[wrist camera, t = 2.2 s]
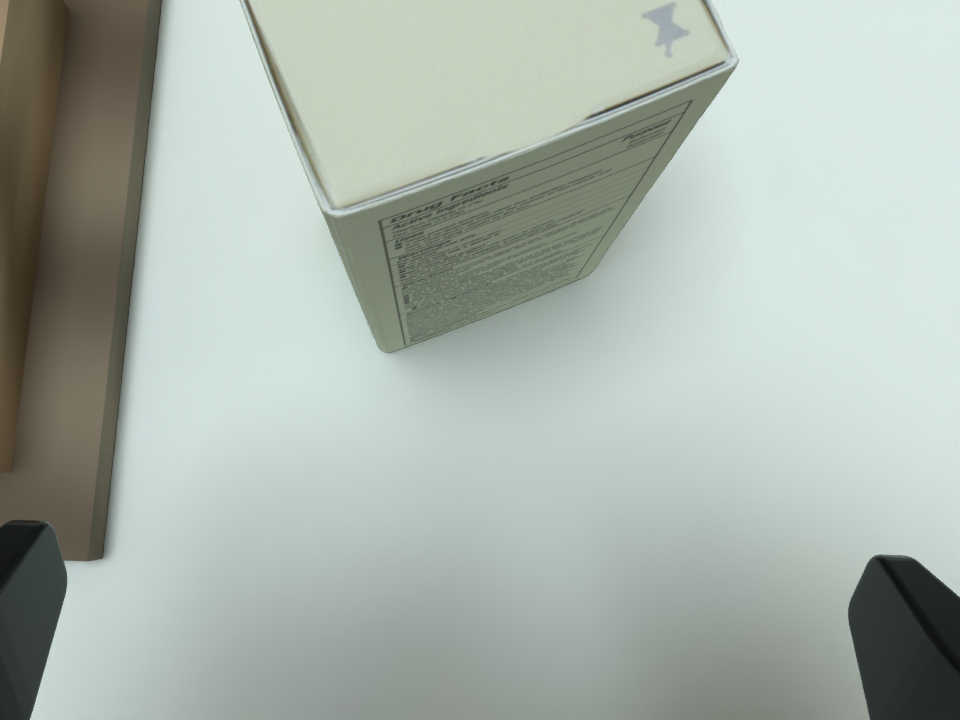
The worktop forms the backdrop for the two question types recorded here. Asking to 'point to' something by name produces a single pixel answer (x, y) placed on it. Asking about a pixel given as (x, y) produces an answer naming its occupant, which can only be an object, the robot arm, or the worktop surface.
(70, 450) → the socket
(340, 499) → the worktop surface
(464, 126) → the skincare box
